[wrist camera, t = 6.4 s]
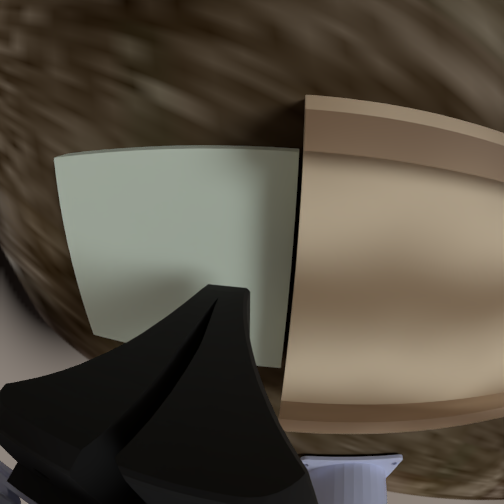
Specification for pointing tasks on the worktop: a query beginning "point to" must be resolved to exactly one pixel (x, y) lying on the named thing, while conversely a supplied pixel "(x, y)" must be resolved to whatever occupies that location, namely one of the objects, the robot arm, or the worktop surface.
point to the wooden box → (396, 272)
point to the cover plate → (180, 233)
